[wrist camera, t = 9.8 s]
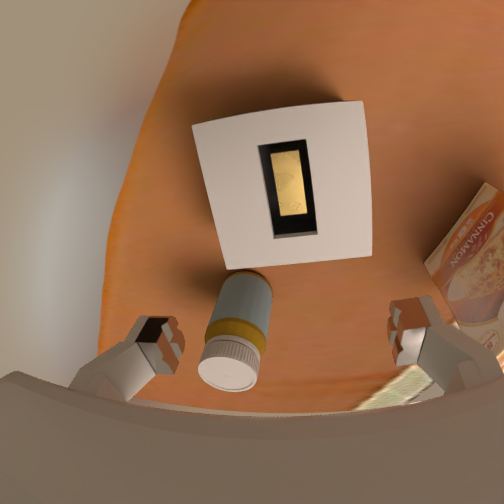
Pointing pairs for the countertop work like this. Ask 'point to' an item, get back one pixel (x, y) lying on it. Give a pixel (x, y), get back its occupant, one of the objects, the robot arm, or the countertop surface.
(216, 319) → the bottle
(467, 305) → the coffeecake box
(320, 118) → the coin box
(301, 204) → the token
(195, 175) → the countertop surface
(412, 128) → the countertop surface
